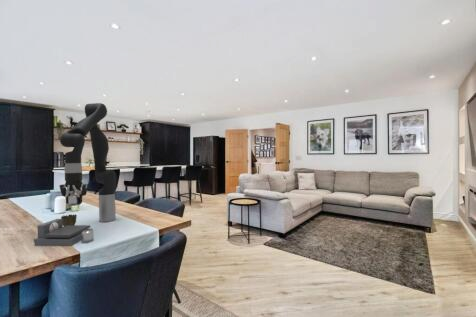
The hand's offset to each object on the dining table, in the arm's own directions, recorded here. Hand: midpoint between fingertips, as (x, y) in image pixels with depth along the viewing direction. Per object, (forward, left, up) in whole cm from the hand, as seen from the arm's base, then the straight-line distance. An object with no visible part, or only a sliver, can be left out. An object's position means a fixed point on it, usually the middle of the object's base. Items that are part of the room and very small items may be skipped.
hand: (74, 203), depth 125 cm
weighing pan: (+4, -1, -14) cm, 14 cm away
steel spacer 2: (+6, +11, -18) cm, 21 cm away
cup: (-12, -12, -18) cm, 25 cm away
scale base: (+4, -2, -17) cm, 18 cm away
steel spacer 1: (0, 0, 0) cm, 0 cm away
